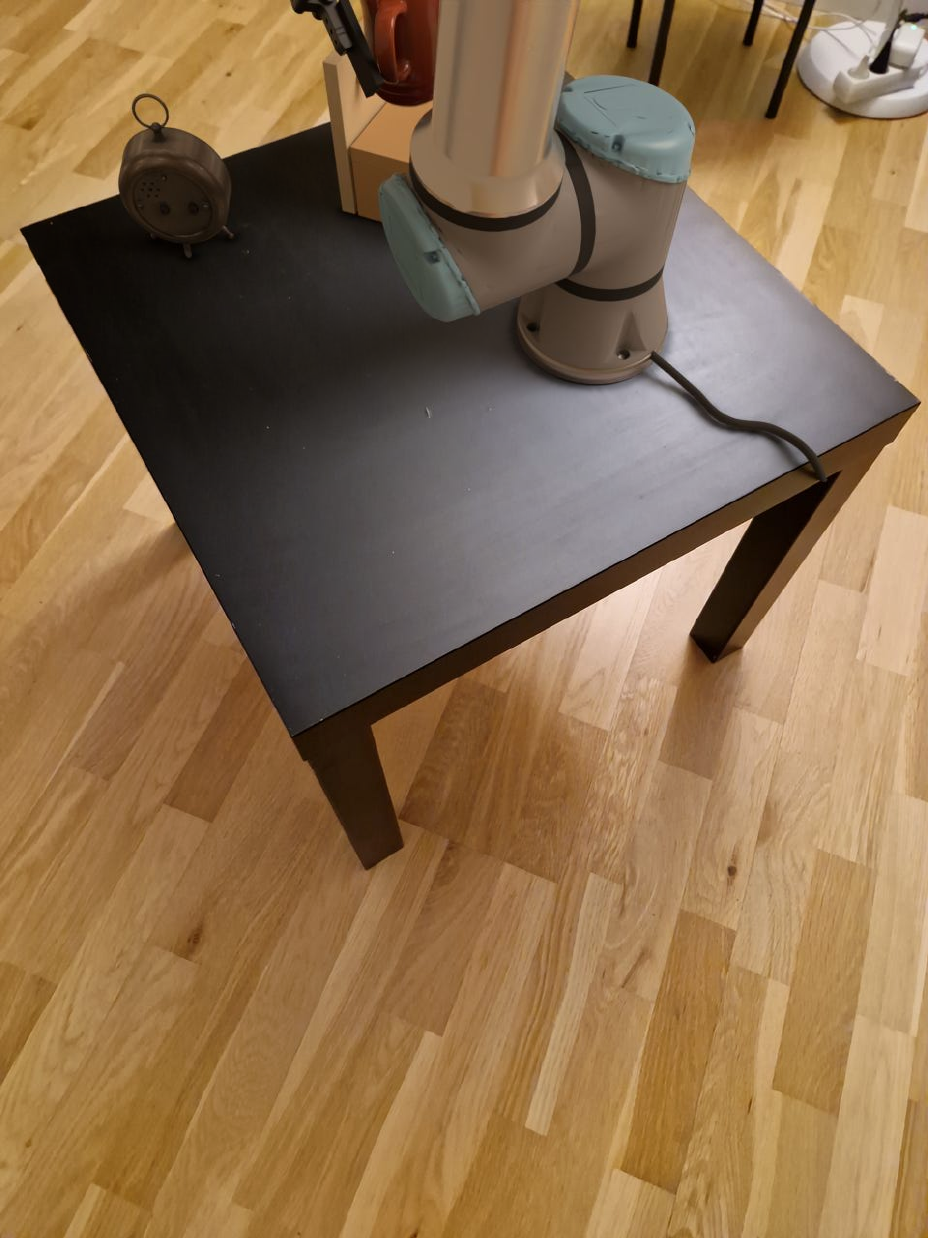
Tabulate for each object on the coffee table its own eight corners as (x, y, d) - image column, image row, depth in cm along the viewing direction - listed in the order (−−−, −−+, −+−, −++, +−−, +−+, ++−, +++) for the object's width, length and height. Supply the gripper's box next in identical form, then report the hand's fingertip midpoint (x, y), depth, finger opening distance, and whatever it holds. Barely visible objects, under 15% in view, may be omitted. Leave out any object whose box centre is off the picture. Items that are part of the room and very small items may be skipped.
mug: (374, 56, 79) (361, -73, 70) (464, 65, 78) (463, -64, 69) (343, 134, 74) (325, 6, 64) (439, 145, 73) (435, 17, 64)
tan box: (523, 166, 99) (533, 17, 85) (470, 247, 92) (472, 99, 78) (402, 134, 102) (393, -16, 88) (342, 210, 95) (321, 61, 81)
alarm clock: (244, 228, 93) (205, 76, 79) (239, 260, 91) (198, 109, 76) (147, 230, 93) (90, 78, 79) (139, 262, 90) (79, 111, 76)
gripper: (399, -238, 70) (506, 46, 78) (160, -172, 63) (303, 131, 71) (435, -313, 63) (547, 7, 71) (171, -247, 57) (328, 96, 65)
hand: (425, 69), depth 71 cm, fingers closed on mug, 10 cm apart
